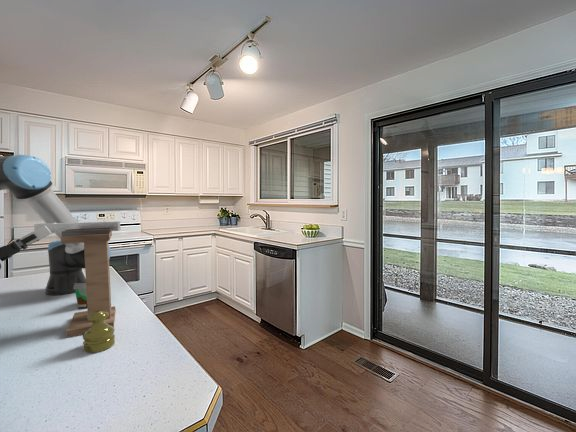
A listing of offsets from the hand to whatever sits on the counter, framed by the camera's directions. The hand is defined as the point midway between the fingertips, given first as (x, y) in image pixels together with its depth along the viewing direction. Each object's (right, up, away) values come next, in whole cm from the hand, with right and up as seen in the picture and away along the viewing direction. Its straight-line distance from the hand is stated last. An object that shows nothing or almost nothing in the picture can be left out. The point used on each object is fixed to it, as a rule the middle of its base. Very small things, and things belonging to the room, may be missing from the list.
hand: (53, 227), depth 94 cm
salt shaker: (+23, -33, -13) cm, 42 cm away
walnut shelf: (+11, -32, +3) cm, 34 cm away
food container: (+1, -31, +20) cm, 37 cm away
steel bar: (+5, -2, +5) cm, 7 cm away
